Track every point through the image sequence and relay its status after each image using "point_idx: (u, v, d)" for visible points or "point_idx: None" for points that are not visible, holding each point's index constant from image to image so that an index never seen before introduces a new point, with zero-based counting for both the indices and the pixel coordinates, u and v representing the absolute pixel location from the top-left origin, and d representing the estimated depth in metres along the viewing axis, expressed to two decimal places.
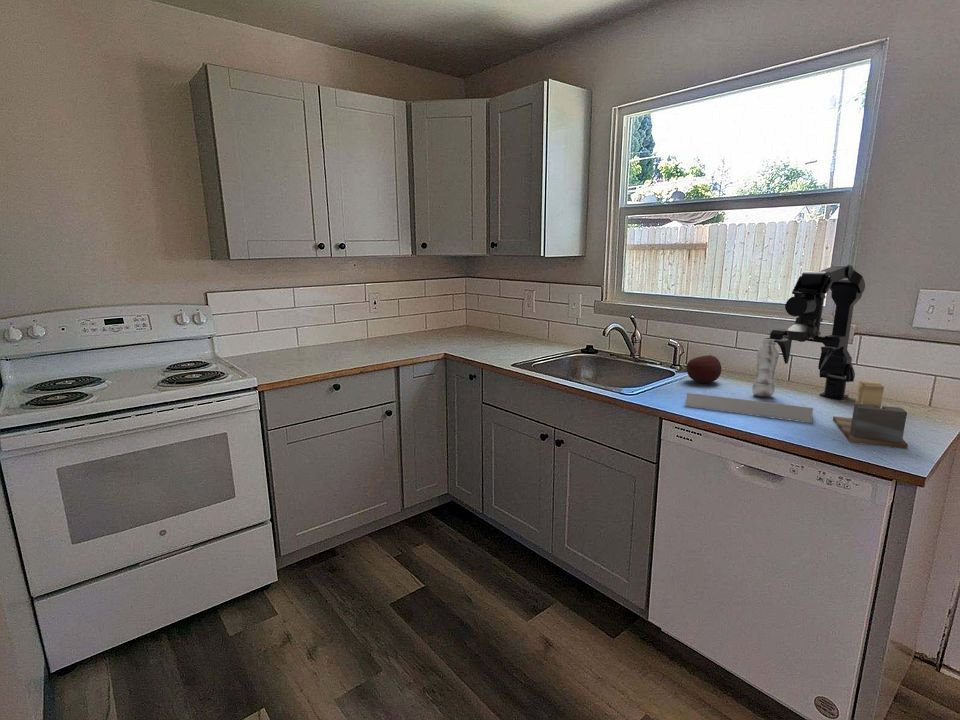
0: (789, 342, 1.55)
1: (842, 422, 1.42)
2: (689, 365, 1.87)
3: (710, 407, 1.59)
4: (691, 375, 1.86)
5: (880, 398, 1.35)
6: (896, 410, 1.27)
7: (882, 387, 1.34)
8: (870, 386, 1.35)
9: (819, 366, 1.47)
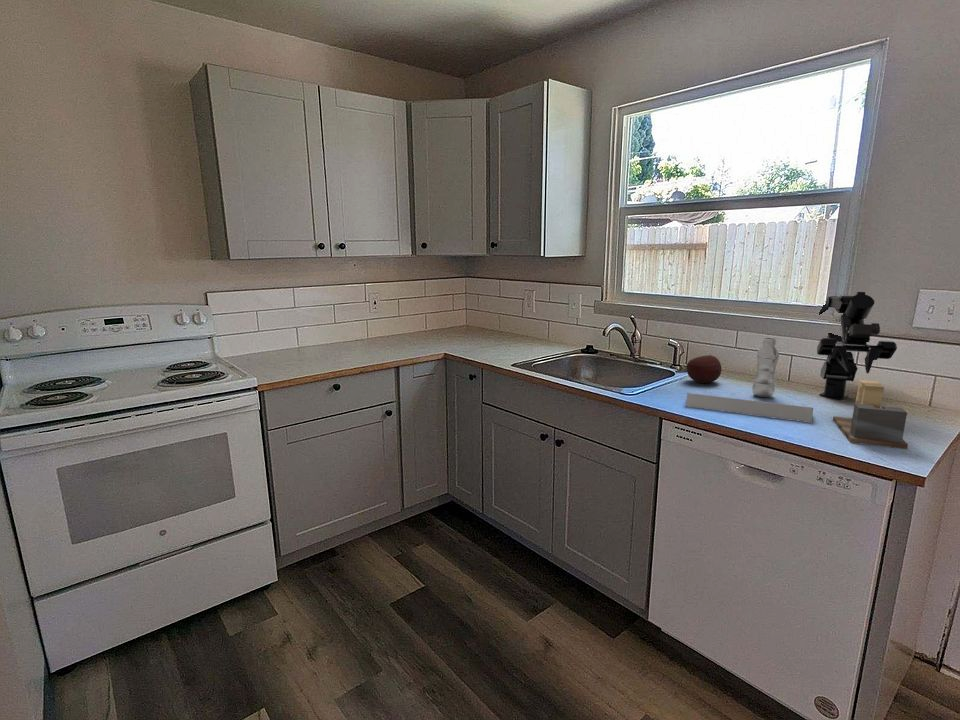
0: None
1: (842, 422, 1.42)
2: (689, 365, 1.87)
3: (710, 407, 1.58)
4: (691, 375, 1.86)
5: (880, 398, 1.35)
6: (896, 410, 1.27)
7: (882, 387, 1.34)
8: (870, 386, 1.35)
9: (868, 368, 1.47)
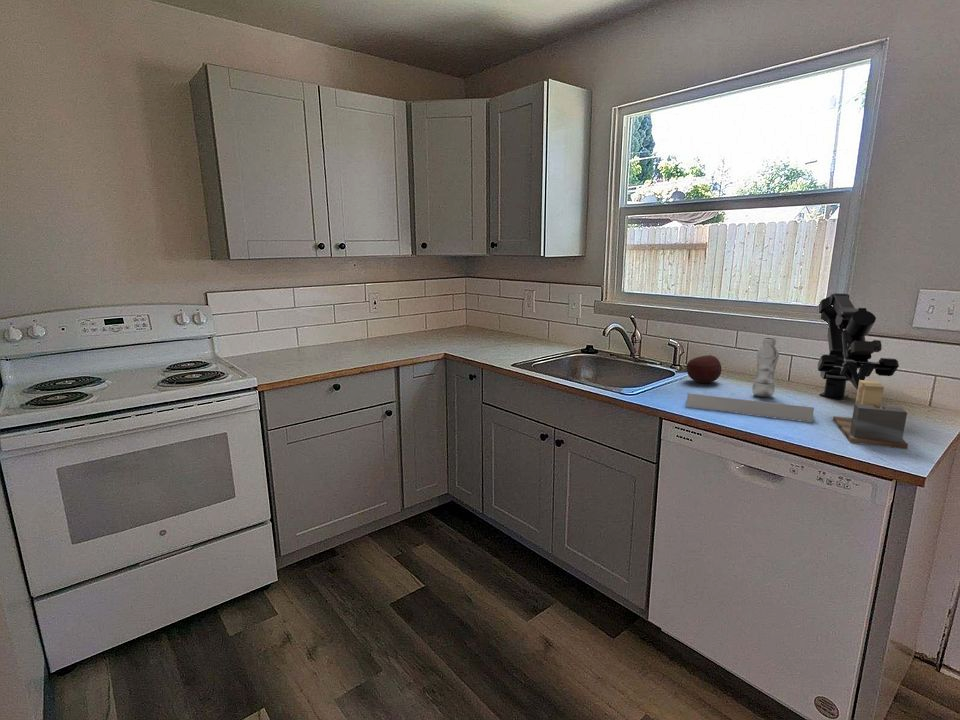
0: None
1: (842, 422, 1.42)
2: (689, 365, 1.87)
3: (711, 407, 1.58)
4: (691, 375, 1.86)
5: (880, 398, 1.35)
6: (896, 410, 1.27)
7: (882, 387, 1.34)
8: (870, 386, 1.35)
9: None
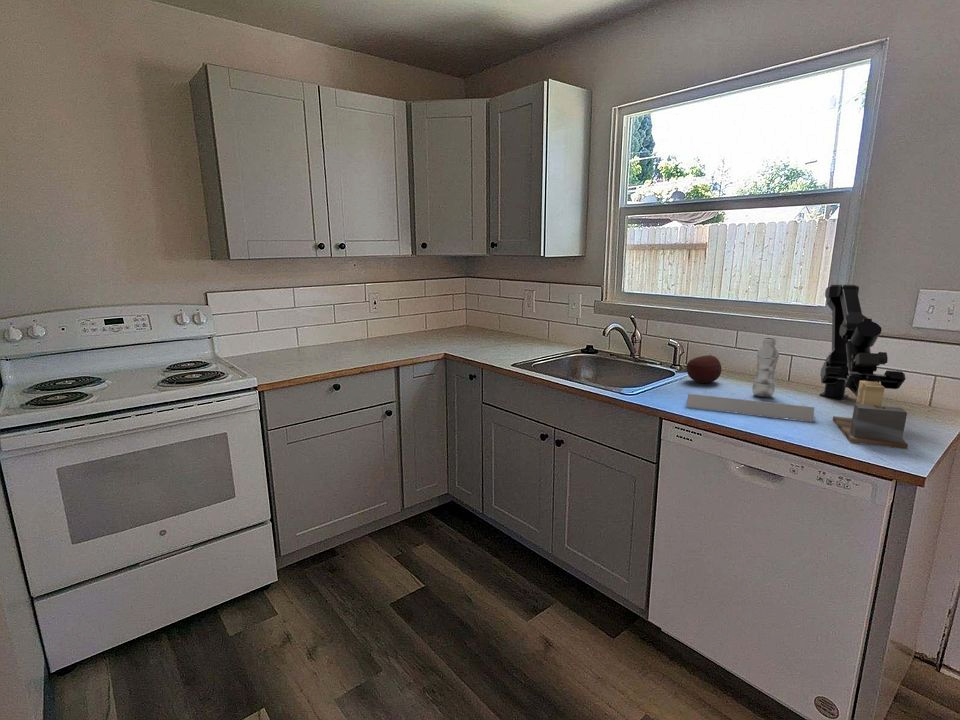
0: None
1: (842, 422, 1.42)
2: (689, 365, 1.87)
3: (712, 408, 1.58)
4: (691, 375, 1.86)
5: (881, 399, 1.34)
6: (896, 410, 1.27)
7: (883, 388, 1.33)
8: (871, 387, 1.34)
9: None
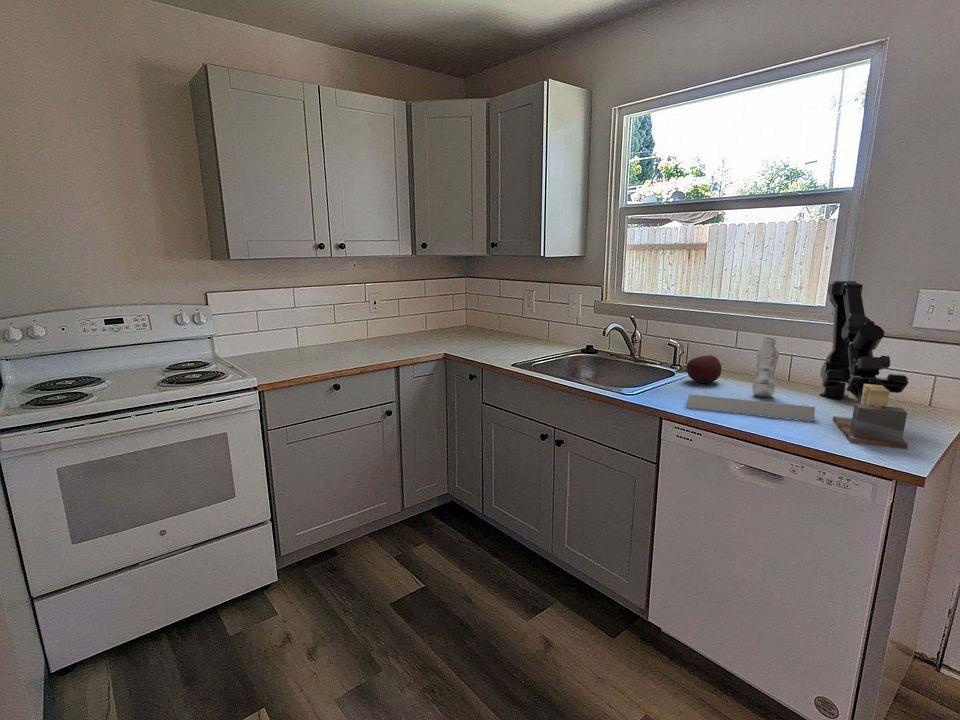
0: None
1: (842, 422, 1.42)
2: (689, 365, 1.87)
3: (712, 408, 1.58)
4: (691, 375, 1.86)
5: (885, 403, 1.31)
6: (896, 410, 1.27)
7: (888, 391, 1.30)
8: (875, 390, 1.31)
9: None
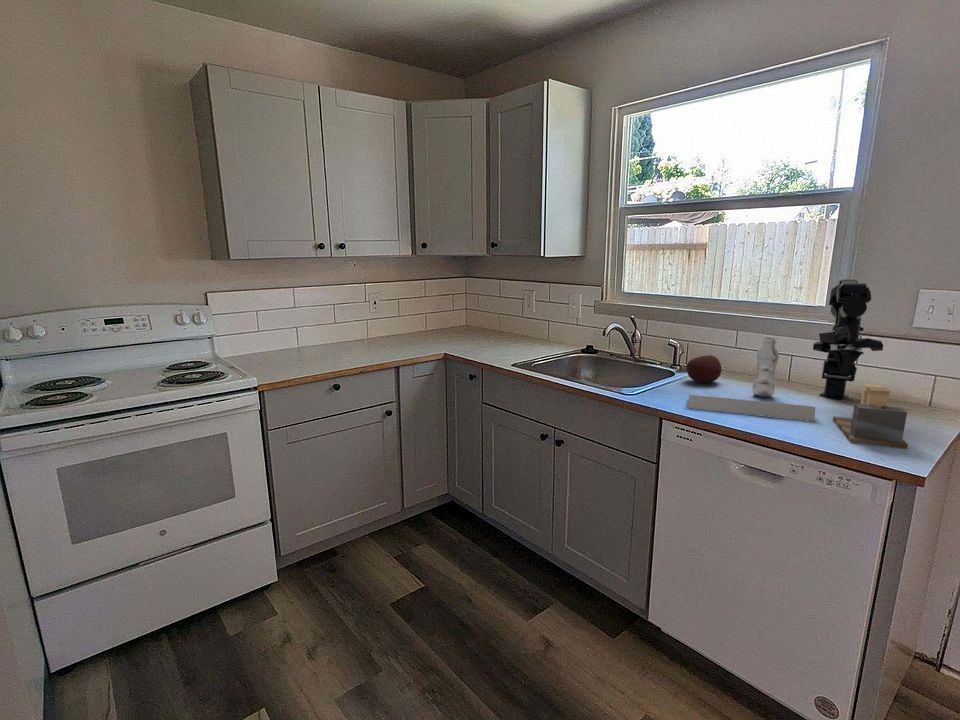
0: None
1: (842, 422, 1.42)
2: (689, 365, 1.87)
3: (713, 408, 1.57)
4: (691, 375, 1.86)
5: (885, 403, 1.31)
6: (896, 410, 1.27)
7: (888, 391, 1.30)
8: (875, 390, 1.31)
9: (842, 370, 1.53)
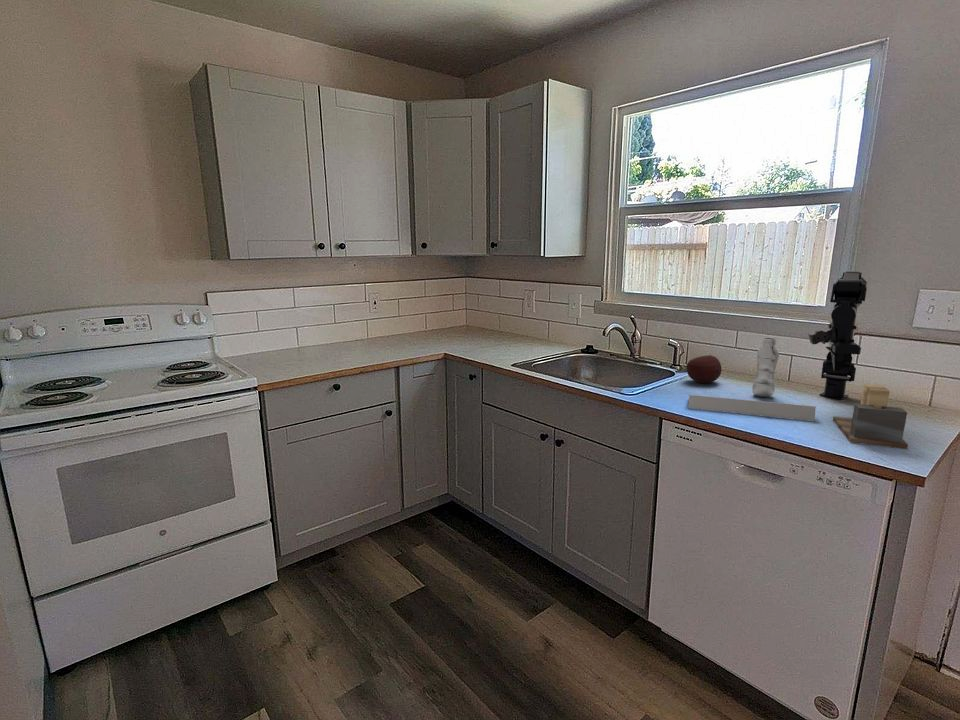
0: None
1: (842, 422, 1.42)
2: (689, 365, 1.87)
3: (713, 409, 1.57)
4: (691, 375, 1.86)
5: (885, 403, 1.31)
6: (896, 410, 1.27)
7: (888, 391, 1.30)
8: (875, 390, 1.31)
9: (834, 368, 1.56)
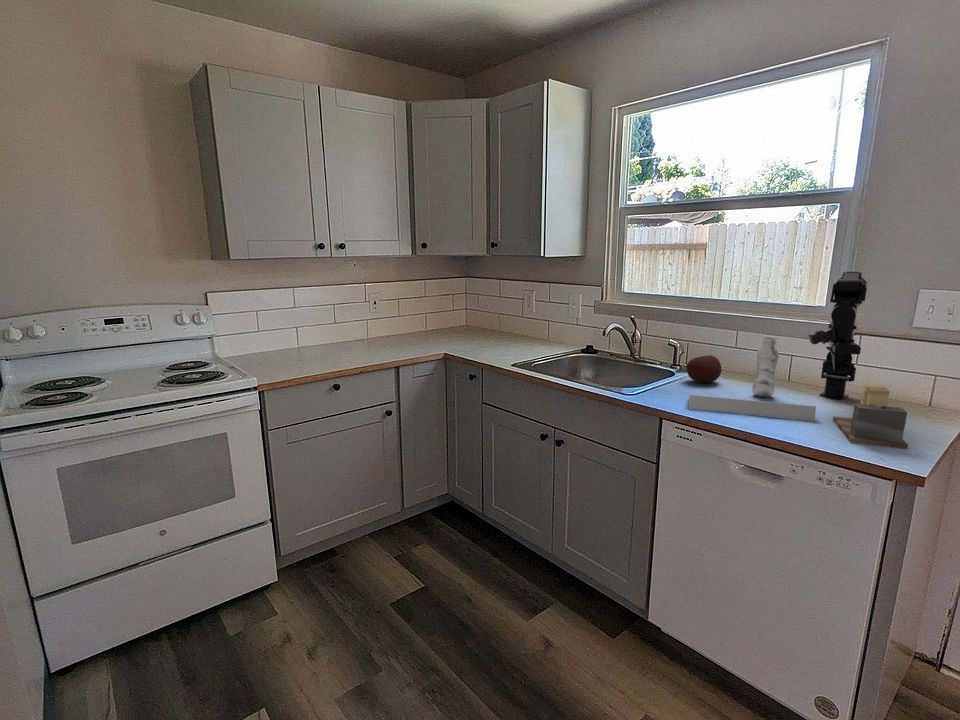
0: None
1: (842, 422, 1.42)
2: (689, 365, 1.87)
3: (714, 409, 1.57)
4: (691, 375, 1.86)
5: (885, 403, 1.31)
6: (896, 410, 1.27)
7: (888, 391, 1.30)
8: (875, 390, 1.31)
9: (834, 368, 1.56)
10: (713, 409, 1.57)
